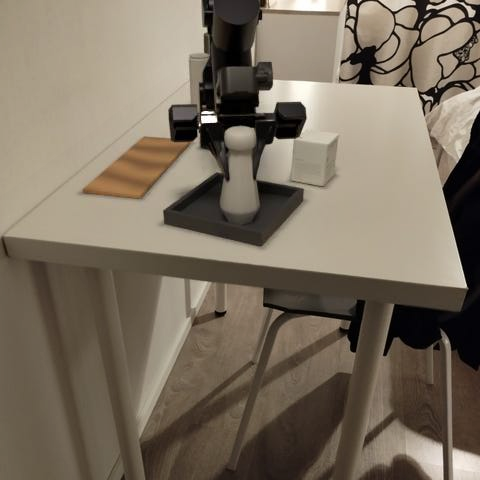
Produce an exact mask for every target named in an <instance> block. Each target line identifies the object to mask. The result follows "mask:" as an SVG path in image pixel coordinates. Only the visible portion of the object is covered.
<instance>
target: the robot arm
mask: <svg viewBox="0 0 480 480" xmlns="http://www.w3.org/2000/svg"><path fill="white" fill-rule="evenodd" d="M260 6H261V3H260V0H201V24H202V25H201V26H202V28H206V33H207V34H208V40H209V59H208V61H207V63H206V66H205V68H204V70H203V72H202V82H199V113H198V109H197V104H191V103H189V104H188V103H185V104H184V103H182V104H179V103H178V104H171V105H170V107H169V108H168V110H167V111H168V113H167V114H168V127H169V137H170V138H171V141H173V142H191V143H193V142H194V141H195V140H196V139H197V138H198V137H199V147H200V148H202V149H208V151H209V152H210V153H211V155H212V157H213V158H214V159H215V161H216V163H217V164H218V167H219V169H220V172H221V173H223V175H224V177H225V180H226V181H229V180H230V174H229V164H228V159H227V156H228V150H229V148H227V147H226V146H225V140H224V135H225V131H226V130H227V129H229V128H231V127H235V126H246V127H250V128H252V129H253V130H254V131H255V133H256V145H255V147H253V148H252V154H253V180H254V181H255V180H257V176H258V172H259V167H260V163H261V158H262V156H263V152H264V150H265V147H266V146H269V145H272V144H273V143H274V140H275V138H276V139H277V140H294V139H296V138H298V137H300V134H301V133H302V132H303V129H304V127H305V124H306V121H307V120H308V117H307V108H306V106H305V105H304V103H302V101H276V102H275V106H274V110H273V112H257V108H259V105H260V92H266V91H269V92H270V91H271V89H272V88H273V86H274V71H273V62H272V61H257V64H256V66H253V55H252V48H253V47H254V43H255V39H256V32H257V28H258V25H259V24H260V21H263V9H262V8H261V7H260ZM203 105H206V107H203Z"/></svg>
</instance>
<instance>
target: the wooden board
mask: <svg viewBox="0 0 480 480" xmlns="http://www.w3.org/2000/svg"><path fill="white" fill-rule="evenodd" d="M191 143H192V142H173V141H171V137H170V138H169V137H159V136H145V135H144V136H143V137H141V138H140V139H139V140H137V142H136V143H134V144H133V145H132V146H131V147H130V148H128V150H126V151H125V152H124V153H123V154H121V156H120V157H118V158H117V159H116V160H115V161H114V162H113V163H111V164H110V165H109V166H107V168H106V169H104V170H103V171H102V172H101V173H100V174H99V175H97V176H96V177H95V178H94V179H93V180H91V182H89V183H88V184H87V185H86V186H85V187H84V188H82V193H83V194H91V195H101V196H111V197H112V196H113V197H121V198H123V197H124V198H132V199H142V198H143V197H144V195H146V193H147V192H148V191H149V190H150V189H151V188H152V187H153V186H154V185H155V183H156V182H157V181H158V180H159V179H160V178H161V177H162V175H163V174H165V172H166V171H167V170H168V169H169V168H170V166H172V164H174V162H175V161H176V160H177V159H178V158H179V156H180V155H181V154H182V153H183V152H184V151H185V150H186V149H187V148H188V146H189V145H190V144H191Z"/></svg>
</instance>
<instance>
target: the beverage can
mask: <svg viewBox="0 0 480 480" xmlns="http://www.w3.org/2000/svg"><path fill="white" fill-rule="evenodd" d="M208 59H209V54H206V53H204V52H194V53H190V54H188V71H189V88H190V89H189V93H190V94H189V95H190V104H197V109H198V114H199V82H202V72H203V70H204V68H205V66H206V63H207V61H208ZM203 107H206V105H203Z"/></svg>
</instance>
